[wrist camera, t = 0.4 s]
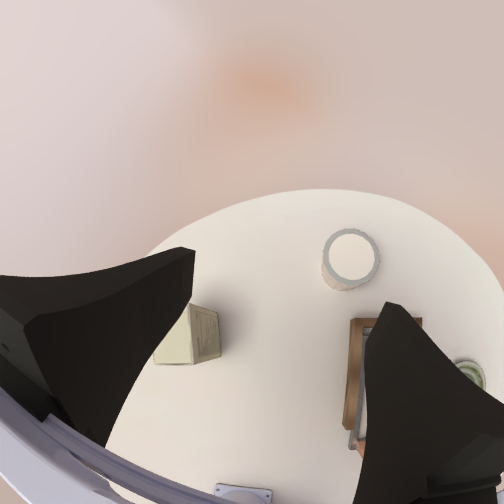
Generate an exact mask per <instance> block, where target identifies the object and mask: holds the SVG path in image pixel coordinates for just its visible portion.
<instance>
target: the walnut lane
mask: <svg viewBox="0 0 504 504" xmlns="http://www.w3.org/2000/svg"><path fill="white" fill-rule="evenodd" d="M377 319H378V318H355V319H352V320H350V341H349V359H348V373H347V384H346V395H345V405H344V414H343V422H342V424H343V426H344V427H345V429H346V430H354V427H355V420H356V412H357V403H358V393H359V383H360V370H361V356H362V336H363V328H373V327H374V325H375V323H376V321H377ZM413 319H414V320H415V321H416V322H417V323H418V324H419V326H420V327H421V328H422V318H413Z"/></svg>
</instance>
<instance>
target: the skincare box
mask: <svg viewBox="0 0 504 504" xmlns="http://www.w3.org/2000/svg"><path fill="white" fill-rule="evenodd" d="M220 356H221V349H220V336H219V326H218V317H217V313H216V312H213V311H210V310H207V309H205V308H202V307H199V306H196V305H194V304H191V303H188V304H187V306H186V308H185V309H184V311H183V313H182V315H181V316H180V318H179V319H178V320H177V322H176V323H175V324H174V326H173V327H172V328H171V330H170V331H169V332H168V334H167V335H166V336H165V338H164V339H163V340H162V342H161V343H160V344H159V346H158V347H157V348H156V349H155V351H154V352H153V360H154V364H155V365H172V366H188V365H194V364H198V363H201V362H205V361H208V360H211V359H215V358H218V357H220Z"/></svg>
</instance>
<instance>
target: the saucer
mask: <svg viewBox="0 0 504 504" xmlns="http://www.w3.org/2000/svg"><path fill="white" fill-rule="evenodd" d="M455 366H457V367H458V368H459V369H460V370H461V371H462V372H463V373H464V374H465V375H466V376H467V377H468V378H469V379H471V380H472V381H473V382H474V383H475V384H477V385H478V386H479V387H480V388H482V389H483V390H484V391H485V390H486V379H485V375H484V372H483V370H482V368H481V367H480V366H479V365H478V364H477V363H475V362H472V361H462V362H459V363H457V364H455Z"/></svg>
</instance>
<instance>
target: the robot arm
mask: <svg viewBox="0 0 504 504" xmlns="http://www.w3.org/2000/svg"><path fill="white" fill-rule="evenodd" d="M195 252H196V251H195V250H191V249H187V248H184V247H177V248H173V249H169V250H166V251H163V252H160V253H157V254H154V255H151V256H148V257H145V258H142V259H139V260H136V261H133V262H129V263H126V264H123V265H119V266H116V267H112V268H108V269H104V270H99V271H94V272H89V273H83V274H75V275H66V276H56V277H18V276H5V275H0V475H1V476H2V477H3V478H4V480H5V481H6V482H7V483H8V484H9V485H10V486H11V487H12V488H13V489H14V490H15V491H16V492H17V493H18V494H19V495H20V496H21V497H22V498H23V499H24V500H25V501H26V502H28V503H29V504H135V503H132V502H130V501H128V500H126V499H124V498H123V497H121V496H120V495H119V494H117V493H116V492H115V491H114V490H113V489H112V488H111V487H110V485H109V482H108V481H107V480H105V479H104V478H102V477H101V476H99V475H98V474H100V475H102V476H103V477H105V478H107V479H109V480H110V481H112V482H114V483H116V484H118V485H120V486H122V487H124V488H126V489H128V490H130V491H132V492H134V493H136V494H138V495H140V496H142V497H144V498H146V499H149V500H151V501H153V502H156V503H158V504H270V503H271V495H272V491H271V490H266V489H255V488H246V487H237V486H230V485H224V484H216V485H215V490H214V495H211V494H208V493H205V492H202V491H199V490H196V489H193V488H190V487H188V486H185V485H182V484H179V483H177V482H174V481H172V480H169V479H167V478H164V477H162V476H160V475H157V474H155V473H153V472H150V471H148V470H146V469H144V468H142V467H140V466H137V465H135V464H133V463H131V462H129V461H127V460H125V459H123V458H121V457H120V456H118V455H116V454H114V453H112V452H110V451H108V450H107V449H105V446H106V443H107V441H108V438H109V436H110V433H111V431H112V428H113V426H114V424H115V421H116V419H117V417H118V415H119V413H120V411H121V409H122V406H123V404H124V402H125V400H126V398H127V396H128V394H129V392H130V391H131V389H132V387H133V385H134V383H135V381H136V379H137V378H138V376H139V374H140V372H141V371H142V369H143V367H144V365H145V364H146V362H147V361H148V359H149V358H150V356H151V355H152V353H153V352H154V351H155V349H156V348H157V347H158V346H159V344H160V343H161V342H162V340H163V339H164V338H165V336H166V335H167V334H168V332H169V331H170V330H171V328H172V327H173V326H174V324H175V323H176V322H177V320H178V319H179V318H180V316H181V315H182V313H183V311H184V309H185V308H186V306H187V304H188V302H189V300H190V298H191V296H192V286H193V274H194V262H195ZM364 373H365V387H366V402H367V431H366V441H365V449H364V456H363V462H362V468H361V473H360V477H359V482H358V486H357V490H356V494H355V497H354V501H353V504H504V490H501V491H500V492H497V493H496V486H497V485H499V484H500V483H501V476H500V474H501V473H502V472H504V404H503V403H501V402H500V401H498V400H497V399H495V398H494V397H492V396H491V395H490V394H488V393H487V392H485V391H484V390H483V389H482V388H480V387H479V386H478V385H477V384H475V383H474V382H473V381H472V380H471V379H469V378H468V377H467V376H466V375H465V374H464V373H463V372H462V371H461V370H460V369H459V368H458V367H457V366H455V365H454V364H453V363H452V362H451V361H450V360H449V358H448V357H447V356H446V355H445V354H444V353H443V352H442V351H441V350H440V349H439V348H438V346H437V345H436V344H435V343H434V342H433V341H432V340H431V338H430V337H429V336H428V335H427V334H426V333H425V331H424V330H423V329H422V328H421V327H420V326H419V324H418V323H417V322H416V321H415V320H414V319H413V317H412V316H411V315H410V314H409V313H408V312H407V311H406V310H405V309H404V308H403V307H402V306H401V305H398V304H394V303H390V302H386V303H385V305H384V307H383V309H382V311H381V313H380V315H379V317H378V319H377V321H376V323H375V325H374V327H373V329H372V331H371V333H370V335H369V337H368V338H367V340H366V342H365V354H364ZM89 468H90V469H89ZM92 470H93V471H92ZM94 471H95V472H96V473H98V474H96V473H95V472H94ZM217 489H220V490H217ZM266 495H270V496H266Z"/></svg>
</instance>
